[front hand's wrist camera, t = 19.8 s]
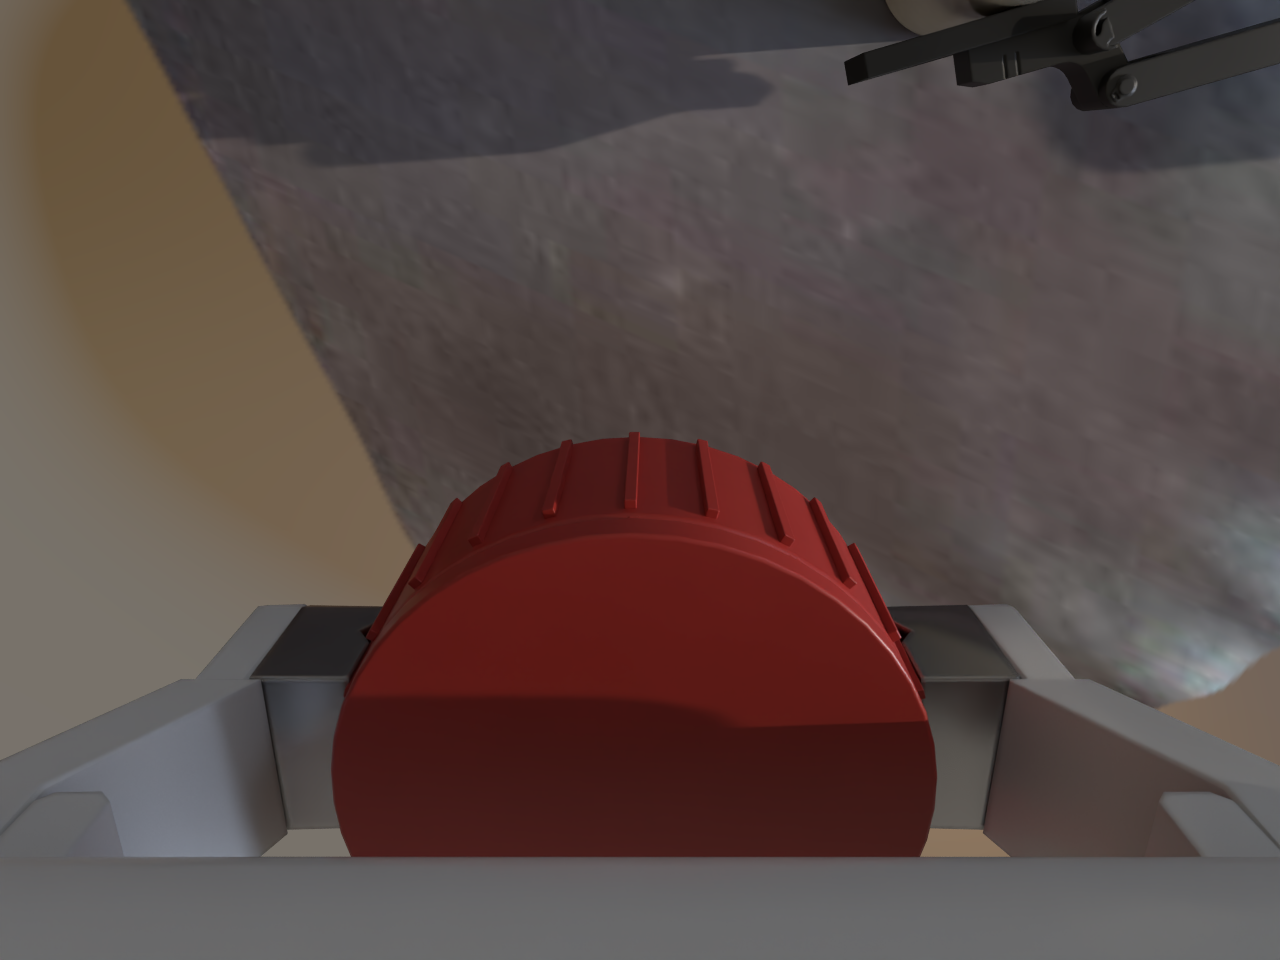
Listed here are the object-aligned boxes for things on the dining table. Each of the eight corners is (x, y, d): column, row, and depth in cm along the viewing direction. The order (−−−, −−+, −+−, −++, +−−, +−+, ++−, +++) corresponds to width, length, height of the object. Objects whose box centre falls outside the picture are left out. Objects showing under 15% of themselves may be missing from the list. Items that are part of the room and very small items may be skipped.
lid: (318, 496, 10) (213, 612, 7) (834, 369, 9) (896, 451, 7) (485, 877, 12) (444, 1060, 9) (913, 795, 11) (981, 968, 9)
